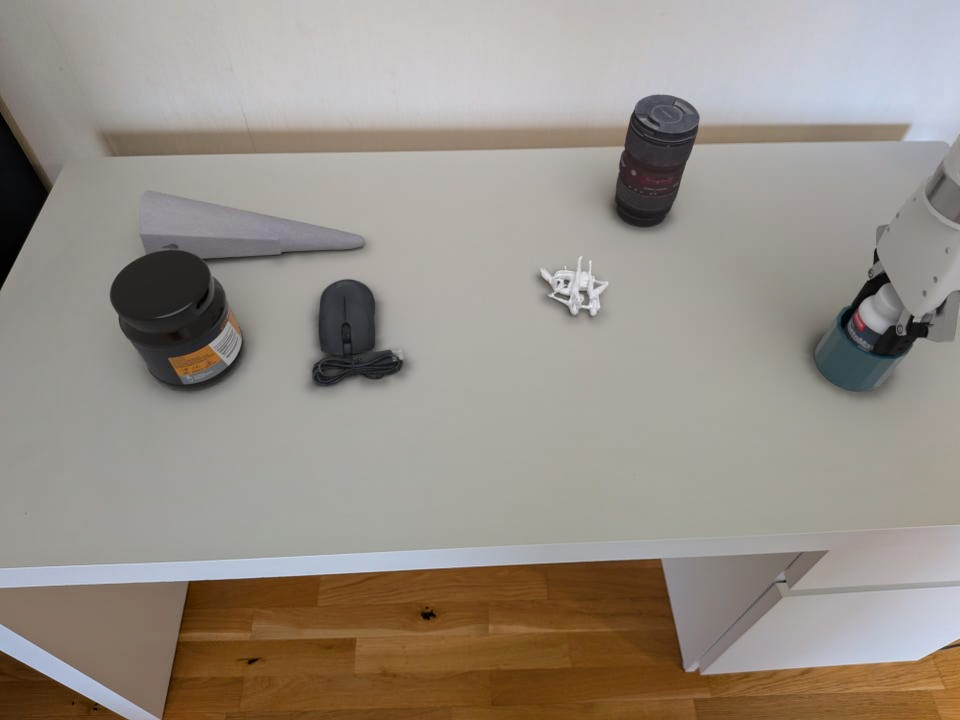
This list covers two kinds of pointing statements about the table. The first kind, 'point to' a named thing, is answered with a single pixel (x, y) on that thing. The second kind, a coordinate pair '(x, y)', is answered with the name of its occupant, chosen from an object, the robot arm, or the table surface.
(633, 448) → the table surface
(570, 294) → the figurine
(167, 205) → the tapered wedge
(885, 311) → the pill bottle
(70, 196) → the table surface
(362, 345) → the computer mouse
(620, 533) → the table surface
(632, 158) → the camera lens
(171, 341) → the supplement container
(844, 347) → the cup
